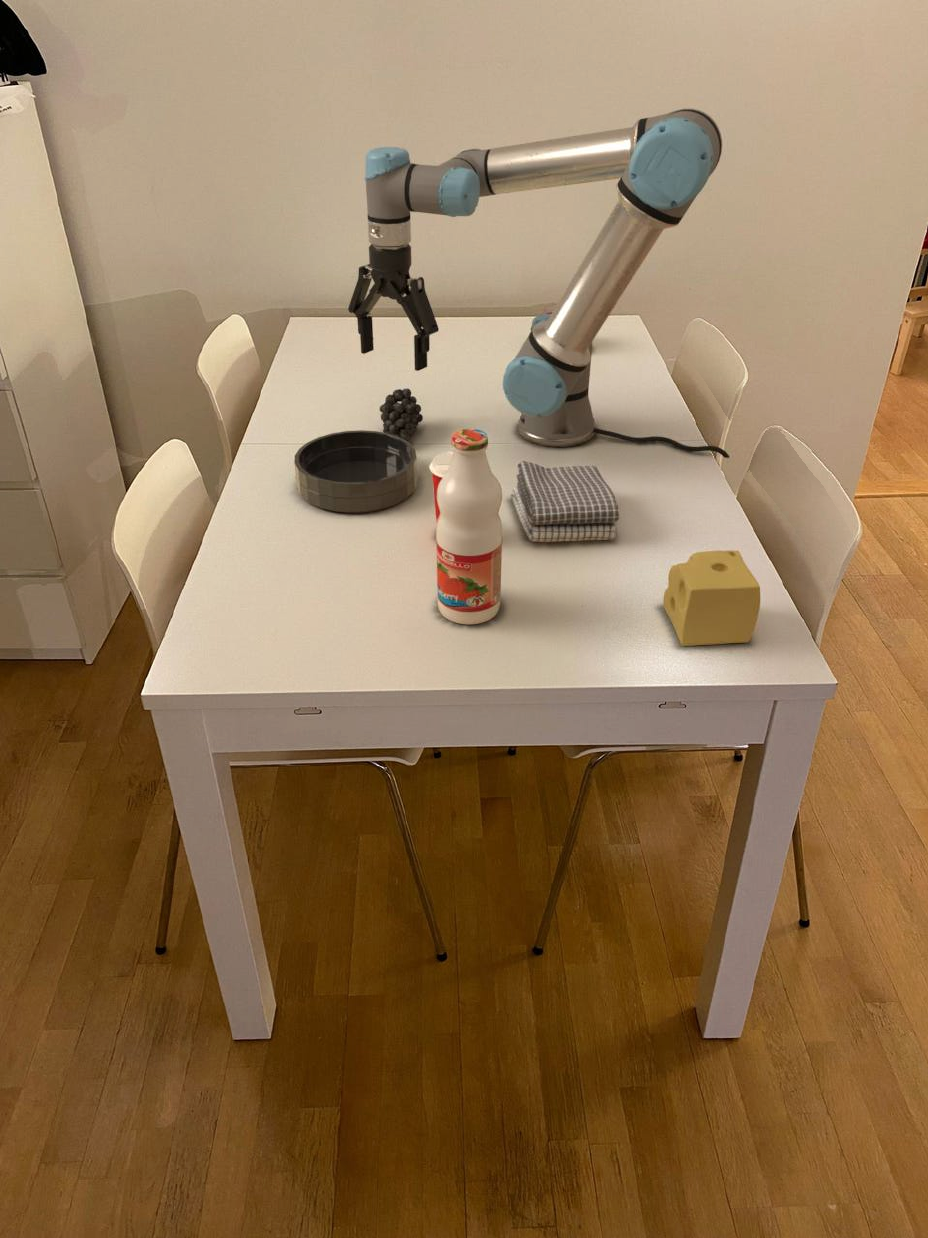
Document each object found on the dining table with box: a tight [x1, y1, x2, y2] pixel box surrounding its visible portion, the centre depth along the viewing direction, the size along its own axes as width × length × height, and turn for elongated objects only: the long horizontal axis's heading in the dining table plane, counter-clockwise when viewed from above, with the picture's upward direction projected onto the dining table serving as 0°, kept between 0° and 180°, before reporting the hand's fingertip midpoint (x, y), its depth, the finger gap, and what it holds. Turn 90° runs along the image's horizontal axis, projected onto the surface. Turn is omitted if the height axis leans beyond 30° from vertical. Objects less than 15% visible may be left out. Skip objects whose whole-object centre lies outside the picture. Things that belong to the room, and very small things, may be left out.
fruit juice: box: [435, 428, 503, 625], centre depth 141 cm, size 9×9×28 cm
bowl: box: [294, 429, 418, 514], centre depth 179 cm, size 22×22×6 cm
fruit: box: [379, 387, 424, 442], centre depth 195 cm, size 9×8×15 cm
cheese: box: [662, 550, 761, 647], centre depth 142 cm, size 10×11×10 cm
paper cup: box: [428, 450, 454, 524], centre depth 162 cm, size 8×8×14 cm
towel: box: [510, 460, 620, 543], centre depth 168 cm, size 15×18×8 cm
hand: (393, 359), depth 188 cm, fingers open, 13 cm apart
